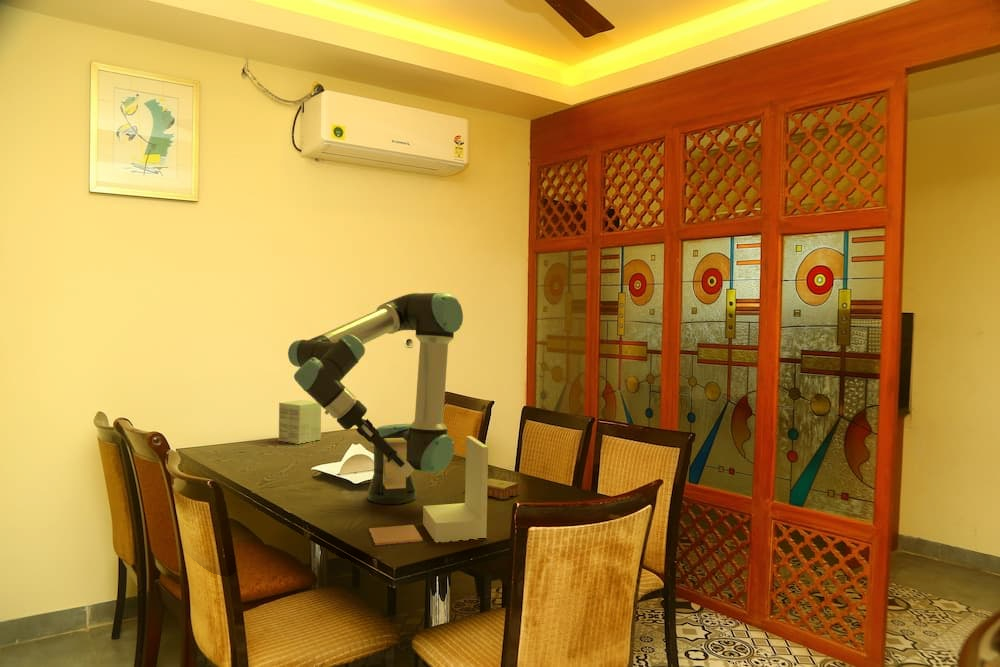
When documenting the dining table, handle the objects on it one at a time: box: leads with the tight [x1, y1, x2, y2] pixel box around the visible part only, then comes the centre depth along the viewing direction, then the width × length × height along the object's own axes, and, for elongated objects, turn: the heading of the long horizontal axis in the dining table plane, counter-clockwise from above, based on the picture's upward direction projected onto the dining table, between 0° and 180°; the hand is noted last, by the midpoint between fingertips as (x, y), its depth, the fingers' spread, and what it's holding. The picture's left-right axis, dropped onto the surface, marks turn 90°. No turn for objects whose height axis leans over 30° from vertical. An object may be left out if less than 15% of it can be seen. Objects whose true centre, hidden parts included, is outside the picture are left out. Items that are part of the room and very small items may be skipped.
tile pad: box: [368, 524, 424, 546], centre depth 175 cm, size 12×12×1 cm
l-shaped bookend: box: [422, 435, 489, 544], centre depth 179 cm, size 16×14×24 cm
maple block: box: [383, 438, 407, 489], centre depth 174 cm, size 6×5×12 cm
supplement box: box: [278, 399, 322, 445], centre depth 299 cm, size 13×13×18 cm
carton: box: [487, 477, 519, 499], centre depth 219 cm, size 8×16×4 cm, turn 55°
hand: (408, 470), depth 175 cm, fingers closed on maple block, 5 cm apart
